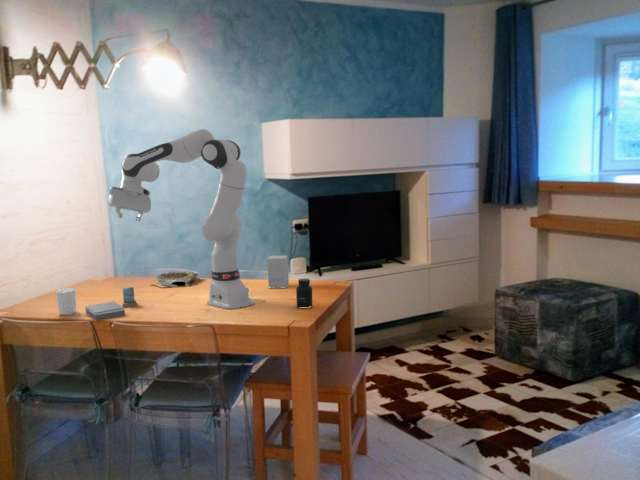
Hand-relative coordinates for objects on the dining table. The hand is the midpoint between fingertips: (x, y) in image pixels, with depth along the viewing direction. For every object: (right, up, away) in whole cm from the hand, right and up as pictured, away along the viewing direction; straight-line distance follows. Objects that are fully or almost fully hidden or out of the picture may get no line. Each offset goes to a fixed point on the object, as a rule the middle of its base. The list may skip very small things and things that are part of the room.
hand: (129, 219), depth 271 cm
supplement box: (+67, -33, +22) cm, 78 cm away
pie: (+13, -32, +39) cm, 52 cm away
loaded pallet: (+2, -39, -6) cm, 39 cm away
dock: (-4, -41, -20) cm, 46 cm away
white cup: (-21, -41, -16) cm, 49 cm away
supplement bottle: (+81, -38, -19) cm, 91 cm away
